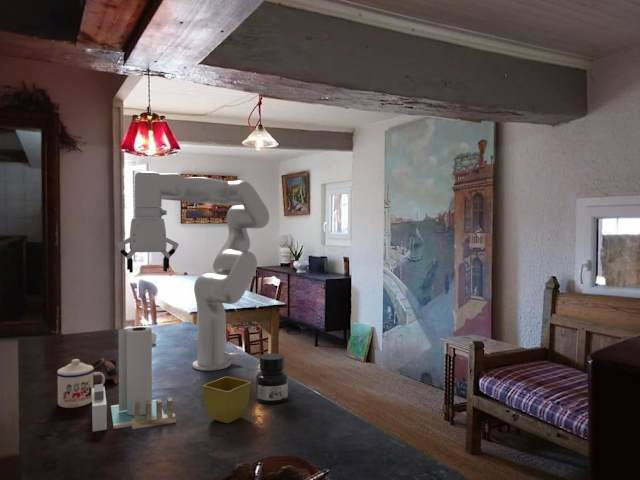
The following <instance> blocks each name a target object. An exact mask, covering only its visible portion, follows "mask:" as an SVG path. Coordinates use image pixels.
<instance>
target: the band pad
mask: <svg viewBox="0 0 640 480" xmlns="http://www.w3.org/2000/svg"><path fill="white" fill-rule="evenodd" d="M110 411H111V419H112V420H111V421H112V427H113V429H114V430H116V429H121V428H128V427H132V423H131V419H135V416H133V415H129V414H127V410H124V411H119V404H114V405H110ZM164 414H165V412H164V410H163V408H162V415H164ZM151 416H156V399H152V410H151ZM144 417H146V414H144V415H140V418H144Z"/></svg>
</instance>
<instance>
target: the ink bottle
mask: <svg viewBox="0 0 640 480" xmlns="http://www.w3.org/2000/svg"><path fill="white" fill-rule="evenodd" d="M259 370H260V371H259V372H258V373H257V374H256V376H255V400H256V401H257V402H259V403H261V404H267V405H270V404H271V405H272V404H280V403H281V404H282V403H284V402H285V401H287V400H288V396H289V393H288V392H289V388H288V387H289V386H288V385H289V378H288V374H287V373H286V372H285V371H284V370H285V355H283V354H281V353H264V354H261V355H260V356H259Z"/></svg>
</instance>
